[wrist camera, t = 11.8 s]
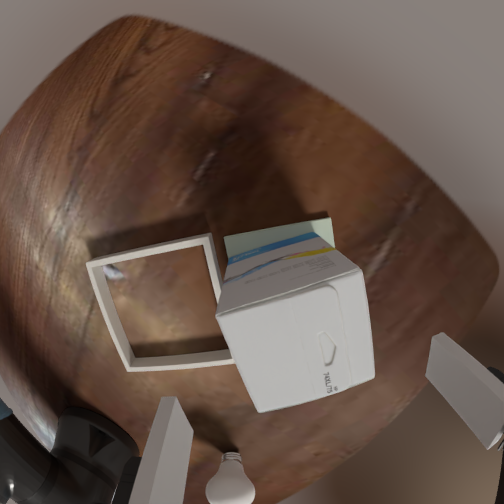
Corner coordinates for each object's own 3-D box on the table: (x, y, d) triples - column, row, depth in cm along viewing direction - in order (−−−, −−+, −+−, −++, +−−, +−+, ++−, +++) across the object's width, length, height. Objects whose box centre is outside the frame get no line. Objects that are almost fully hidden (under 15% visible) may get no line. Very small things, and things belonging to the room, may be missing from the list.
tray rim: (133, 362, 29) (127, 371, 27) (94, 257, 26) (85, 262, 24) (239, 352, 28) (239, 362, 27) (211, 232, 25) (208, 236, 24)
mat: (247, 338, 28) (247, 341, 28) (224, 236, 26) (223, 237, 25) (339, 320, 28) (341, 322, 27) (329, 217, 25) (330, 218, 25)
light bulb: (250, 439, 32) (250, 501, 22) (257, 461, 34) (259, 516, 23) (205, 442, 32) (196, 501, 22) (216, 463, 34) (211, 517, 23)
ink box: (227, 256, 25) (210, 312, 14) (315, 229, 25) (366, 264, 14) (254, 334, 27) (257, 417, 16) (334, 310, 27) (378, 380, 15)
